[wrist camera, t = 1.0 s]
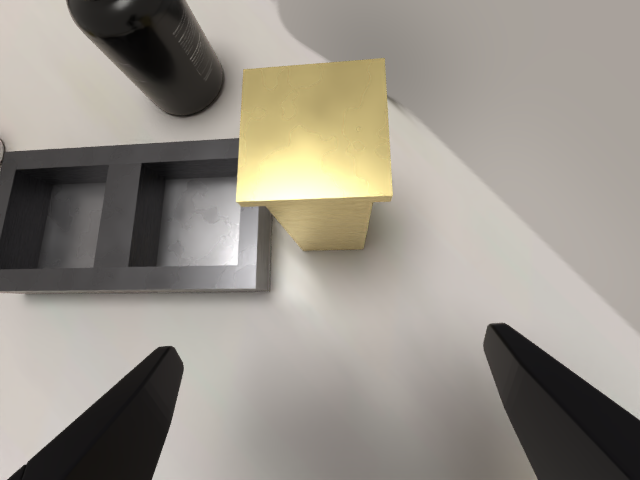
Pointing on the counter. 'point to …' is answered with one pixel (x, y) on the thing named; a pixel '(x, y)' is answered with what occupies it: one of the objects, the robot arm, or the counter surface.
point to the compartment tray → (130, 221)
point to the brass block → (316, 149)
